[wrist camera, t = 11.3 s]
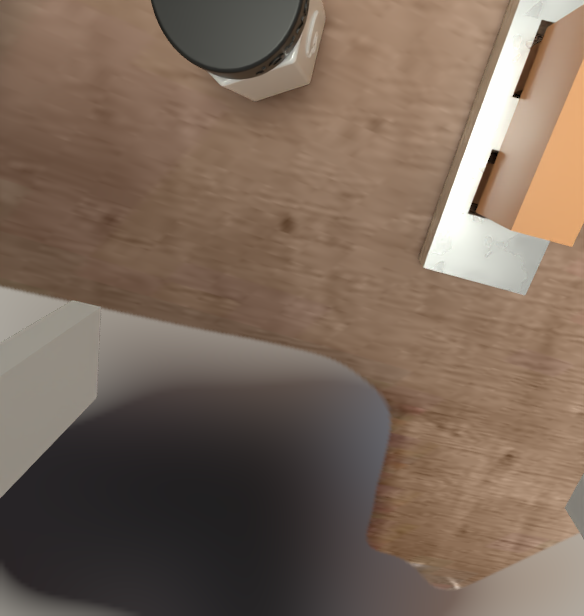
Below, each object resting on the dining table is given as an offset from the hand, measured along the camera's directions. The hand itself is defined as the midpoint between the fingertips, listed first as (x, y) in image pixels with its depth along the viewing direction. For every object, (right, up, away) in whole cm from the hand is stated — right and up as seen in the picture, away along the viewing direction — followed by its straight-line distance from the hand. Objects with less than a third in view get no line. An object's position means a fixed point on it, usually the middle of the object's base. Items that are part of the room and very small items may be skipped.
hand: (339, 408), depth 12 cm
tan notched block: (+16, +16, +22) cm, 31 cm away
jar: (-3, +23, +22) cm, 32 cm away
